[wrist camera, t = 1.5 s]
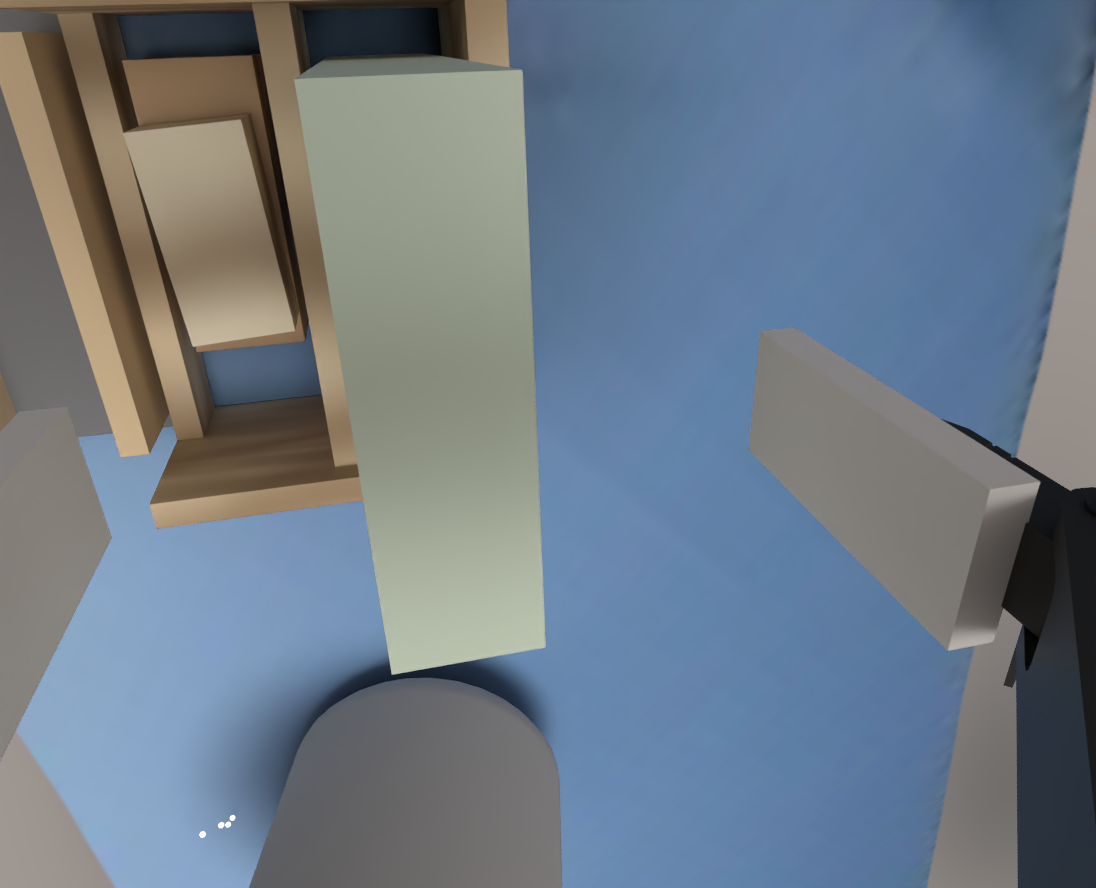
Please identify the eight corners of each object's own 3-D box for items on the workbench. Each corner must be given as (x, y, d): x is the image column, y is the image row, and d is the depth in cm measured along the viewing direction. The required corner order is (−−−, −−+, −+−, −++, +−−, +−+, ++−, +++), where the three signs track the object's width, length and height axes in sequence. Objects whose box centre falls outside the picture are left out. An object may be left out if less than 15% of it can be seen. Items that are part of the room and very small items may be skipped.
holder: (-173, 5, 25) (-282, -2, 21) (68, -1, 27) (13, -8, 22) (2, 442, 33) (-52, 502, 28) (183, 421, 34) (159, 476, 30)
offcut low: (146, 58, 28) (122, 60, 25) (262, 54, 29) (251, 55, 26) (211, 323, 33) (197, 352, 30) (309, 313, 33) (305, 341, 30)
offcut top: (141, 125, 26) (122, 133, 24) (249, 112, 26) (240, 119, 24) (204, 324, 29) (192, 347, 27) (299, 309, 30) (295, 330, 28)
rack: (76, -18, 26) (-22, -39, 19) (468, -25, 29) (506, -45, 22) (196, 430, 34) (157, 528, 27) (496, 395, 37) (529, 477, 30)
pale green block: (328, 56, 29) (294, 78, 12) (422, 53, 30) (522, 69, 12) (371, 357, 35) (391, 675, 17) (450, 349, 35) (545, 647, 18)
